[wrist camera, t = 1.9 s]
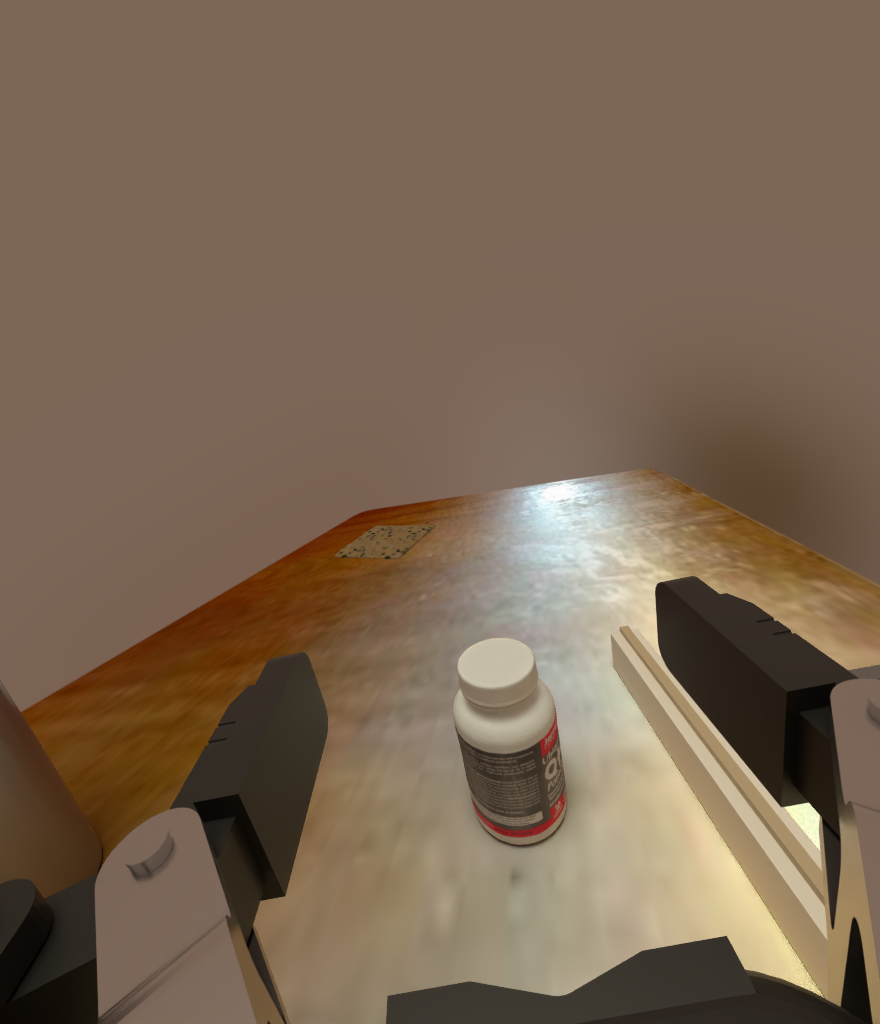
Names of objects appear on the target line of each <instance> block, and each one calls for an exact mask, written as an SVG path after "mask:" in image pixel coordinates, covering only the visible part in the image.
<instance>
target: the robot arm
mask: <svg viewBox="0 0 880 1024" xmlns="http://www.w3.org/2000/svg"><path fill="white" fill-rule="evenodd" d="M655 596H656V613H657V631H658V644H659V649H660V653H661V656H662V658H663V661H664V663H665V665H666V667H667V668H668V670H669V671H670V673H671V674H672V675H673V676H674V677H675V679H676V680H677V681H678V682H679V683H680V685H681V686H682V687H683V688H684V690H685V691H686V692H687V693H688V694H689V696H690V697H691V698H692V699H693V701H694V702H695V703H696V704H697V705H698V707H699V708H700V709H701V710H702V712H703V713H704V714H705V715H706V716H707V718H708V719H709V720H710V721H711V723H712V724H713V725H714V726H715V727H716V729H717V730H718V731H719V732H720V734H721V735H722V736H723V737H724V738H725V740H726V741H727V742H728V743H729V744H730V746H731V747H732V748H733V749H734V751H735V752H736V753H737V754H738V755H739V757H740V758H741V759H742V760H743V762H744V763H745V764H746V765H747V766H748V768H749V769H750V770H751V771H752V773H753V774H754V775H755V776H756V777H757V779H758V780H759V781H760V782H761V784H762V785H763V786H764V787H765V788H766V790H767V791H768V792H769V793H770V795H771V796H772V797H773V798H774V799H775V801H776V802H777V803H778V804H779V806H780V807H786V806H792V805H797V804H803V803H808V802H809V803H810V804H811V806H812V807H813V808H814V809H815V810H816V811H817V812H818V813H819V814H820V822H819V836H820V849H821V862H822V875H823V888H824V901H825V914H826V927H827V940H828V1000H827V999H825V998H823V997H821V996H819V995H817V994H815V993H813V992H812V991H810V990H807V989H805V988H802V987H800V986H797V985H795V984H793V983H790V982H788V981H785V980H783V979H780V978H776V977H773V976H769V975H766V974H763V973H759V972H755V971H749V970H745V969H744V967H743V965H742V964H741V962H740V960H739V958H738V956H737V954H736V952H735V951H734V949H733V947H732V945H731V943H730V941H729V939H728V938H727V936H723V937H718V938H712V939H707V940H701V941H695V942H690V943H684V944H678V945H673V946H667V947H661V948H656V949H650V950H644V951H641V952H639V953H638V954H636V955H634V956H633V957H631V958H629V959H628V960H626V961H624V962H622V963H621V964H619V965H617V966H616V967H614V968H612V969H611V970H609V971H607V972H605V973H604V974H602V975H600V976H599V977H597V978H595V979H594V980H592V981H590V982H588V983H587V984H585V985H583V986H582V987H580V988H578V989H576V990H575V991H573V992H571V993H569V994H567V995H564V996H550V995H544V994H538V993H533V992H527V991H521V990H516V989H510V988H504V987H498V986H493V985H487V984H481V983H476V982H464V983H458V984H453V985H447V986H441V987H436V988H430V989H424V990H419V991H413V992H408V993H402V994H396V995H391V996H388V999H387V1017H386V1024H880V680H878V679H859V678H858V677H856V676H855V675H854V674H852V673H851V672H849V671H848V670H846V669H845V668H844V667H842V666H841V665H839V664H838V663H837V662H835V661H834V660H832V659H831V658H830V657H828V656H827V655H825V654H824V653H822V652H821V651H820V650H818V649H817V648H815V647H814V646H813V645H811V644H810V643H808V642H807V641H805V640H804V639H803V638H801V637H800V636H798V635H797V634H796V633H794V634H792V633H791V630H790V629H788V628H787V627H786V626H784V625H783V624H781V623H780V622H779V621H774V619H773V617H772V616H770V615H769V614H767V613H766V612H764V611H763V610H762V609H760V608H759V607H757V606H756V605H755V604H753V603H751V602H748V601H745V600H743V599H740V598H738V597H735V596H732V595H730V594H727V593H725V594H719V593H717V592H716V591H715V590H713V589H712V588H711V587H709V586H708V585H707V584H705V583H704V582H703V581H701V580H700V579H699V578H697V577H695V576H690V577H685V578H680V579H675V580H670V581H665V582H660V583H658V584H657V586H656V590H655ZM327 732H328V716H327V710H326V706H325V703H324V700H323V697H322V694H321V691H320V688H319V686H318V683H317V680H316V677H315V674H314V671H313V668H312V665H311V662H310V660H309V658H308V656H307V655H306V654H305V653H304V652H302V653H297V654H292V655H287V656H281V657H276V658H271V659H270V660H269V661H268V662H267V664H266V665H265V667H264V669H263V671H262V673H261V675H260V677H259V679H258V681H257V682H256V684H255V685H251V686H248V687H247V688H246V689H245V690H244V691H243V692H242V693H241V694H240V695H239V696H238V697H237V698H236V699H235V700H234V701H233V702H232V703H231V704H230V705H229V707H228V708H227V710H226V712H225V714H224V715H223V717H222V719H221V721H220V722H219V724H218V728H216V729H215V731H214V733H213V734H212V736H211V738H210V740H209V741H208V742H209V745H208V746H206V747H205V748H204V750H203V752H202V754H201V755H200V757H199V759H198V761H197V762H196V764H195V766H194V768H193V769H192V771H191V773H190V774H189V776H188V778H187V780H186V781H185V783H184V785H183V787H182V788H181V790H180V792H179V794H178V795H177V797H176V799H175V801H174V802H173V804H172V806H171V808H170V809H169V810H167V811H165V812H162V813H160V814H158V815H156V816H154V817H152V818H150V819H148V820H147V821H145V822H144V823H142V824H141V825H139V826H138V827H137V828H135V829H134V830H133V831H132V832H131V833H129V834H128V835H127V836H126V837H125V838H124V839H123V840H122V841H121V842H120V843H119V844H118V845H117V846H116V847H115V849H114V850H113V851H112V852H111V854H110V855H109V856H108V858H107V859H106V861H105V862H104V864H103V866H102V867H101V869H100V872H99V873H98V870H99V866H100V862H101V859H102V845H101V843H100V841H99V839H98V837H97V835H96V834H95V832H94V830H93V829H92V827H91V826H90V824H89V822H88V821H87V819H86V818H85V816H84V814H83V813H82V811H81V809H80V808H79V806H78V805H77V803H76V801H75V800H74V798H73V796H72V794H71V793H70V791H69V789H68V788H67V786H66V785H65V783H64V781H63V780H62V778H61V777H60V775H59V773H58V772H57V770H56V768H55V767H54V765H53V764H52V762H51V760H50V759H49V757H48V756H47V754H46V752H45V751H44V749H43V748H42V746H41V744H40V743H39V741H38V739H37V738H36V736H35V735H34V733H33V731H32V730H31V728H30V727H29V725H28V723H27V722H26V720H25V719H24V717H23V715H22V714H21V712H20V710H19V709H18V707H17V706H16V704H15V702H14V701H13V699H12V698H11V696H10V695H9V693H8V691H7V690H6V688H5V686H4V685H3V683H2V682H1V680H0V1024H290V1021H289V1018H288V1015H287V1013H286V1010H285V1007H284V1004H283V1001H282V999H281V996H280V993H279V990H278V988H277V985H276V982H275V979H274V976H273V974H272V971H271V968H270V965H269V963H268V960H267V957H266V954H265V952H264V949H263V946H262V943H261V940H260V938H259V935H258V932H257V930H256V928H255V926H254V924H253V923H254V920H255V916H256V913H257V910H258V907H259V903H260V901H262V900H267V899H273V898H278V897H284V896H285V895H286V891H287V888H288V884H289V880H290V876H291V872H292V868H293V864H294V861H295V857H296V853H297V849H298V845H299V841H300V838H301V834H302V830H303V826H304V822H305V818H306V814H307V811H308V807H309V803H310V799H311V795H312V791H313V788H314V784H315V780H316V776H317V772H318V768H319V764H320V761H321V757H322V753H323V749H324V745H325V741H326V738H327Z"/></svg>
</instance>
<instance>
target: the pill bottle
mask: <svg viewBox="0 0 880 1024" xmlns="http://www.w3.org/2000/svg"><path fill="white" fill-rule="evenodd" d="M457 671H458V677H459V685H460V690H459V691H458V693H457V695H456V697H455V701H454V705H453V717H454V723H455V728H456V731H457V736H458V739H459V743H460V748H461V752H462V756H463V762H464V767H465V771H466V776H467V780H468V784H469V788H470V792H471V797H472V801H473V805H474V809H475V812H476V815H477V817H478V819H479V821H480V822H481V824H482V825H483V826H484V828H485V829H486V830H487V831H488V832H489V833H490V834H492V835H493V836H495V837H496V838H497V839H499V840H502V841H505V842H508V843H511V844H516V845H525V844H531V843H535V842H538V841H540V840H543V839H545V838H546V837H548V836H549V835H550V834H552V833H553V832H554V831H555V830H556V829H557V827H558V826H559V825H560V823H561V821H562V819H563V817H564V814H565V811H566V806H567V794H566V785H565V778H564V771H563V764H562V756H561V749H560V741H559V734H558V727H557V716H556V708H555V705H554V700H553V697H552V695H551V693H550V691H549V689H548V688H547V686H546V685H545V684H544V683H543V682H542V681H541V680H540V679H539V678H538V672H537V668H536V662H535V658H534V655H533V653H532V651H531V650H530V648H529V647H527V646H526V645H525V644H523V643H521V642H519V641H517V640H513V639H507V638H493V639H488V640H484V641H481V642H478V643H476V644H474V645H472V646H471V647H469V648H468V649H467V650H465V651H464V652H463V654H462V655H461V656H460V658H459V661H458V665H457Z"/></svg>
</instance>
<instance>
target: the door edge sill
mask: <svg viewBox="0 0 880 1024" xmlns="http://www.w3.org/2000/svg"><path fill="white" fill-rule="evenodd" d="M611 643H612V655H613V667H614V668H615V670H616V671H617V673H618V674H619V676H620V678H621V679H622V681H623V682H624V684H625V685H626V687H627V689H628V690H629V692H630V693H631V695H632V696H633V698H634V699H635V701H636V703H637V704H638V706H639V707H640V709H641V710H642V712H643V714H644V715H645V717H646V718H647V720H648V721H649V723H650V725H651V726H652V728H653V729H654V731H655V732H656V734H657V736H658V737H659V739H660V740H661V742H662V743H663V745H664V746H665V748H666V750H667V751H668V753H669V754H670V756H671V757H672V759H673V761H674V762H675V764H676V765H677V767H678V768H679V770H680V772H681V773H682V775H683V776H684V778H685V779H686V781H687V783H688V784H689V786H690V787H691V789H692V790H693V792H694V794H695V795H696V797H697V798H698V800H699V801H700V803H701V804H702V806H703V808H704V809H705V811H706V812H707V814H708V815H709V817H710V819H711V820H712V822H713V823H714V825H715V826H716V828H717V830H718V831H719V833H720V834H721V836H722V837H723V839H724V841H725V842H726V844H727V845H728V847H729V848H730V850H731V851H732V853H733V855H734V856H735V858H736V859H737V861H738V862H739V864H740V866H741V867H742V869H743V870H744V872H745V873H746V875H747V877H748V878H749V880H750V881H751V883H752V884H753V886H754V888H755V889H756V891H757V892H758V894H759V895H760V897H761V898H762V900H763V902H764V903H765V905H766V906H767V908H768V909H769V911H770V913H771V914H772V916H773V917H774V919H775V920H776V922H777V924H778V925H779V927H780V928H781V930H782V931H783V933H784V935H785V936H786V938H787V939H788V941H789V942H790V944H791V946H792V947H793V949H794V950H795V952H796V953H797V955H798V956H799V958H800V960H801V961H802V963H803V964H804V966H805V967H806V969H807V971H808V972H809V974H810V975H811V977H812V978H813V980H814V982H815V983H816V985H817V986H818V988H819V989H820V991H821V993H822V994H823V996H824V997H825V999H827V1000H828V940H827V927H826V914H825V901H824V888H823V875H822V862H821V852H820V851H819V850H818V848H817V847H816V846H815V845H814V844H813V842H812V841H811V840H810V839H809V837H808V836H807V835H806V834H805V833H804V831H803V830H802V829H801V828H800V826H799V825H798V824H797V823H796V822H795V820H794V819H793V818H792V817H791V816H790V814H789V813H788V812H787V811H786V809H785V808H784V807H780V806H779V804H778V803H777V802H776V801H775V799H774V798H773V797H772V796H771V795H770V793H769V792H768V791H767V790H766V788H765V787H764V786H763V785H762V784H761V782H760V781H759V780H758V779H757V777H756V776H755V775H754V774H753V773H752V771H751V770H750V769H749V768H748V766H747V765H746V764H745V763H744V762H743V760H742V759H741V758H740V757H739V755H738V754H737V753H736V752H735V751H734V749H733V748H732V747H731V746H730V744H729V743H728V742H727V741H726V740H725V738H724V737H723V736H722V735H721V734H720V732H719V731H718V730H717V729H716V727H715V726H714V725H713V724H712V723H711V721H710V720H709V719H708V718H707V716H706V715H705V714H704V713H703V712H702V710H701V709H700V708H699V707H698V705H697V704H696V703H695V702H694V701H693V699H692V698H691V697H690V696H689V694H688V693H687V692H686V691H685V690H684V688H683V687H682V686H681V685H680V683H679V682H678V681H677V680H676V679H675V677H674V676H673V675H672V674H671V673H670V671H669V670H668V668H667V667H666V665H665V663H664V661H663V659H662V658H661V657H660V656H659V655H658V653H657V652H656V651H655V650H654V648H653V647H652V646H651V645H650V644H649V642H648V641H647V640H646V639H645V637H644V636H643V635H642V634H641V633H640V631H639V630H638V629H632V630H631V629H630V628H629V627H628V626H624V627H620V632H616V633H611Z"/></svg>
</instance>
